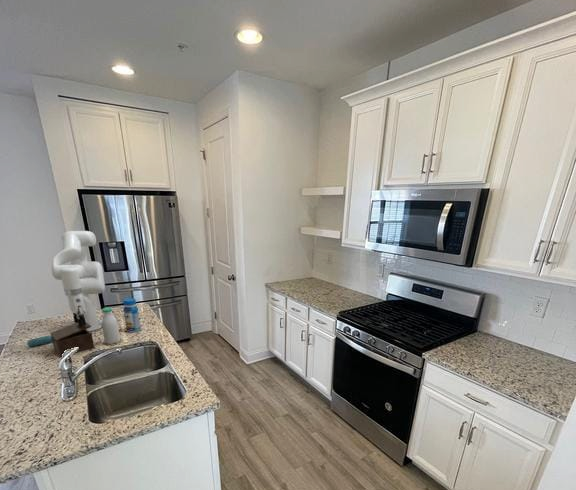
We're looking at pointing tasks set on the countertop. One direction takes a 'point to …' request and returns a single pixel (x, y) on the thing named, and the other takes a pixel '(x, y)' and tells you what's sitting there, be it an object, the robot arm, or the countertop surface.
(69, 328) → the bin lid
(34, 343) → the teal cylinder
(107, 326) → the milk bottle
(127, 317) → the beverage bottle
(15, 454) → the countertop surface
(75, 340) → the bin
